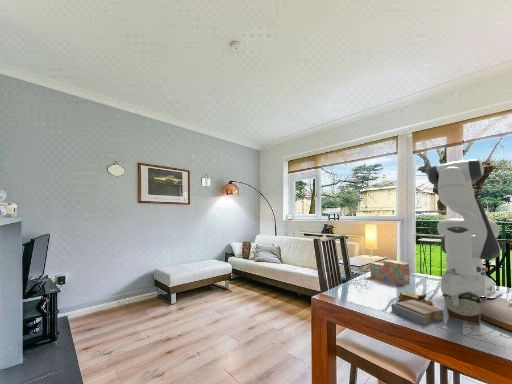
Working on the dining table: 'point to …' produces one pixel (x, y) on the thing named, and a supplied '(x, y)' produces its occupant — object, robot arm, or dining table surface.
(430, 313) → the walnut slab
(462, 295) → the food container
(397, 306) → the corner jig
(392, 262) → the stack of blocks
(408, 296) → the toy sandwich meal
